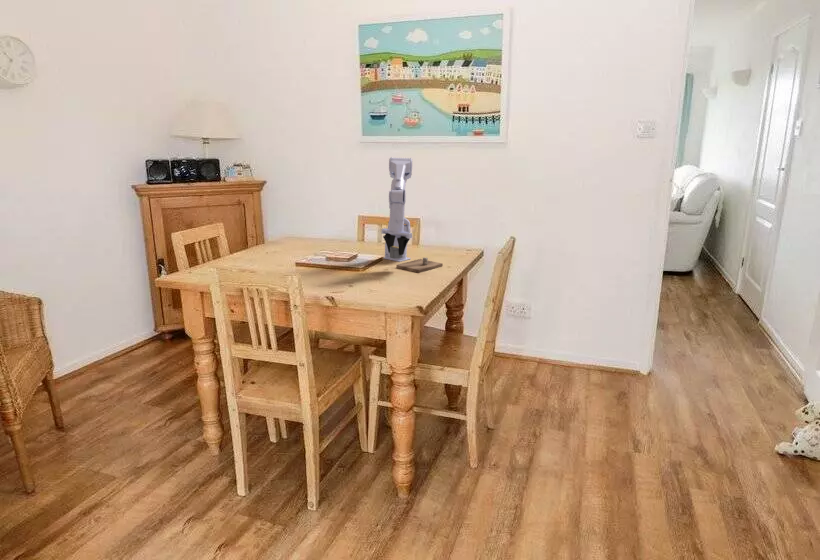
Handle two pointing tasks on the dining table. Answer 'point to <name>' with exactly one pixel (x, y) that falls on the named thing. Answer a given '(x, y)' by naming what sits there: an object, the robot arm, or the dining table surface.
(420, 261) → the stud board
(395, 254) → the grey control knob
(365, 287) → the dining table surface
